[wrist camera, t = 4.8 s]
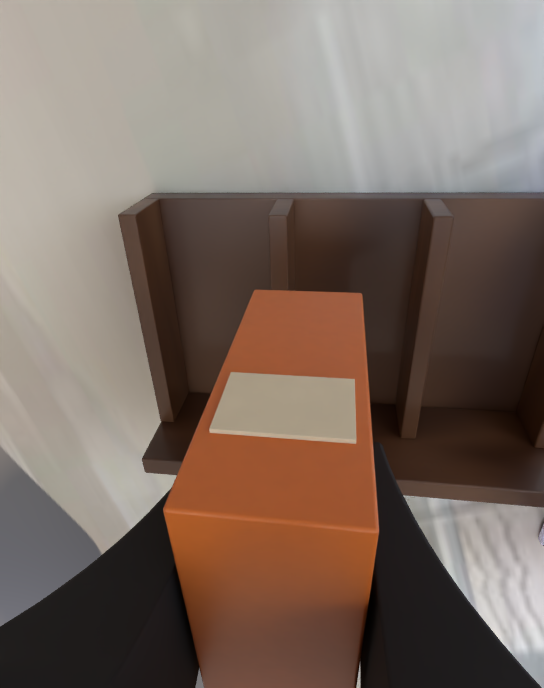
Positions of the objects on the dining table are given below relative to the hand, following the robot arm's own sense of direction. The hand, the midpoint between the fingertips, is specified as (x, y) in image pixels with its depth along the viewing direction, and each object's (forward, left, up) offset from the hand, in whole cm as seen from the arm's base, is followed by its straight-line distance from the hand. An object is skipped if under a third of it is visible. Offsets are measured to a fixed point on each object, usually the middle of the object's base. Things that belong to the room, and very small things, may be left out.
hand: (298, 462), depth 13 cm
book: (0, 0, -3) cm, 3 cm away
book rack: (-2, +1, -11) cm, 11 cm away
